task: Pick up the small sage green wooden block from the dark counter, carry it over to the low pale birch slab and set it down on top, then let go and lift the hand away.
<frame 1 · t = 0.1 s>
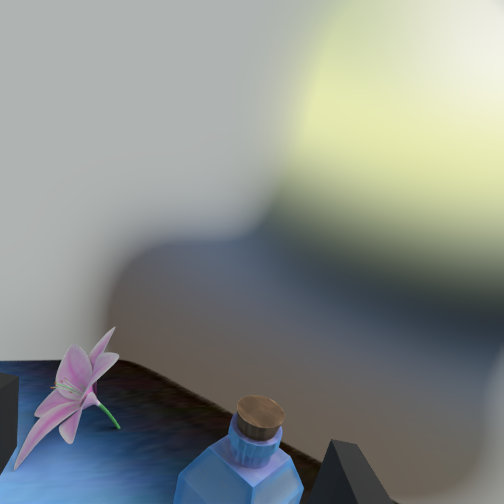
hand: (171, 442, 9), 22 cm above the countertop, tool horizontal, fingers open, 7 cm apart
lily: (70, 434, 37), on the countertop
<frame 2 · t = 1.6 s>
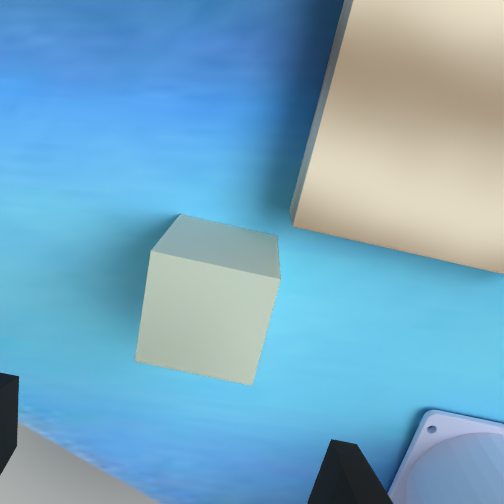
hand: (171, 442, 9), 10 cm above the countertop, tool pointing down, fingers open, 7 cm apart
birch slab: (450, 111, 17), on the countertop
sage block: (219, 269, 19), on the countertop
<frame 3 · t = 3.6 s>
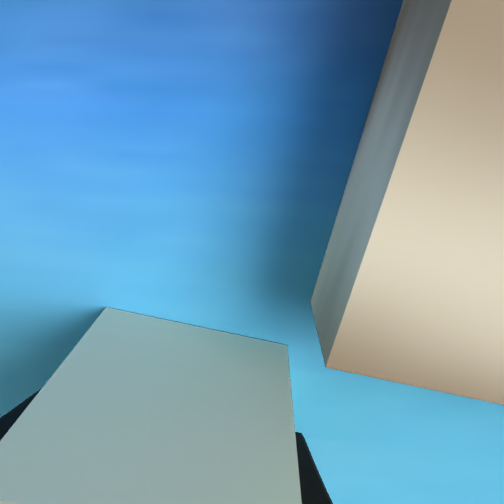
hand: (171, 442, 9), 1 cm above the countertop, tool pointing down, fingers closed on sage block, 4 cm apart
sage block: (182, 399, 11), on the countertop, touching gripper
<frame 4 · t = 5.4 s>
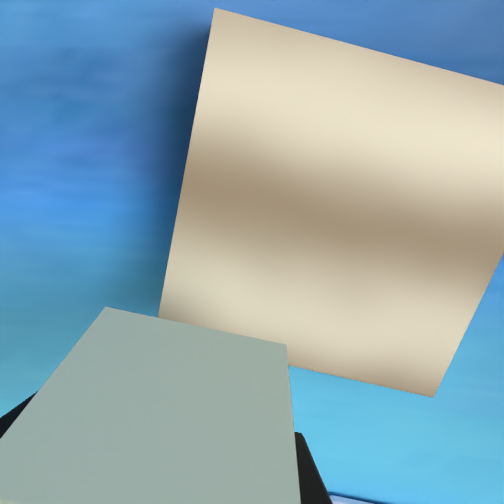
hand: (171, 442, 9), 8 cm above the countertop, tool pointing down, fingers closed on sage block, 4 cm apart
birch slab: (327, 211, 16), on the countertop
sage block: (182, 398, 11), point 7 cm above the countertop, touching gripper
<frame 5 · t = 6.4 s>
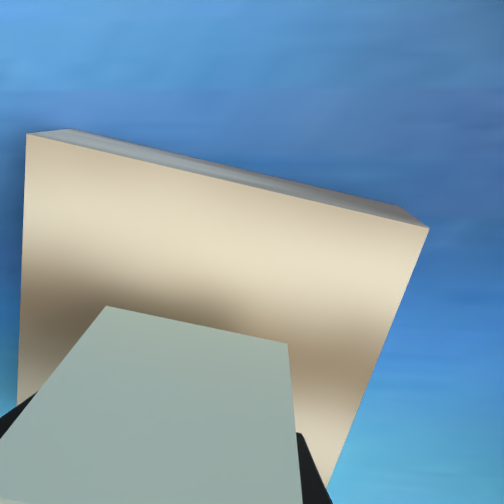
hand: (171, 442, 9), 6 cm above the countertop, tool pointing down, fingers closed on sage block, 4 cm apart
birch slab: (208, 308, 16), on the countertop
sage block: (182, 398, 11), point 5 cm above the countertop, touching gripper
when the fingers open (6 cm above the countertop, at t = 7.3 s): sage block drops 2 cm, point 2 cm above the countertop.
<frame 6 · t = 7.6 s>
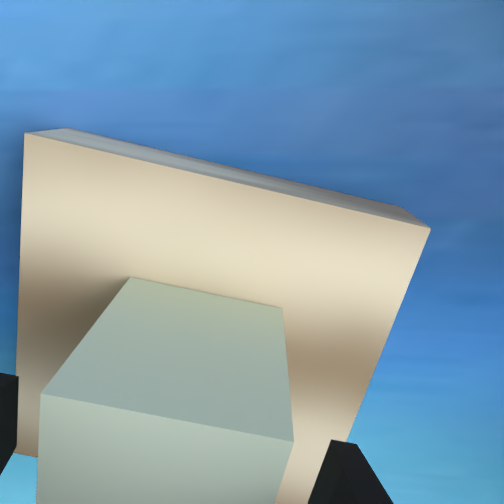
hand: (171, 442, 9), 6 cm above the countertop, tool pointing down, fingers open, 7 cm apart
birch slab: (208, 309, 15), on the countertop
sage block: (194, 356, 13), point 2 cm above the countertop
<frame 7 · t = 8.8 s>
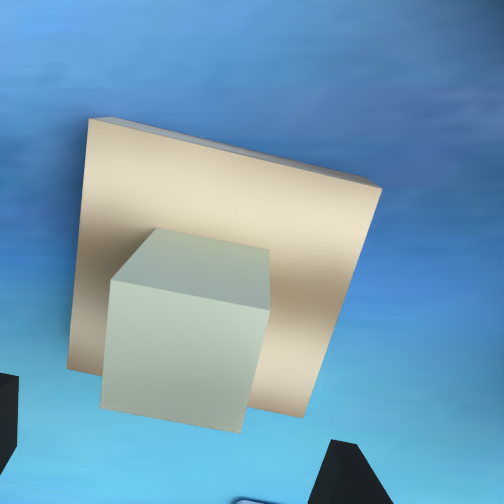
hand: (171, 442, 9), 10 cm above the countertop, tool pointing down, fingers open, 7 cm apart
birch slab: (217, 261, 20), on the countertop, touching sage block
sage block: (204, 289, 17), point 2 cm above the countertop, touching birch slab
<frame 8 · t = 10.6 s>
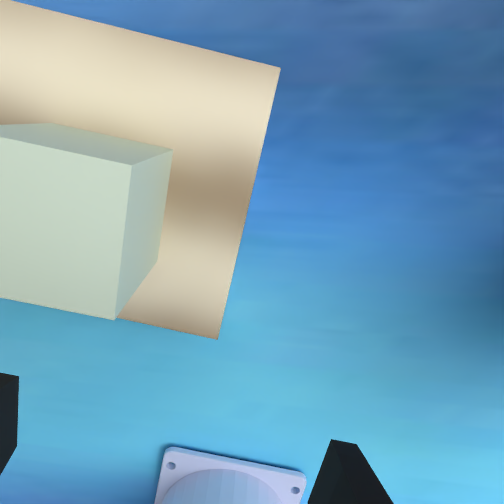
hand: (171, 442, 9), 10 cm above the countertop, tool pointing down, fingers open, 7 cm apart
birch slab: (130, 175, 18), on the countertop, touching sage block
sage block: (107, 195, 16), point 2 cm above the countertop, touching birch slab
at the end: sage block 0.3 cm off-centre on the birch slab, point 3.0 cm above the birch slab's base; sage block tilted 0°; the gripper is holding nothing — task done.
